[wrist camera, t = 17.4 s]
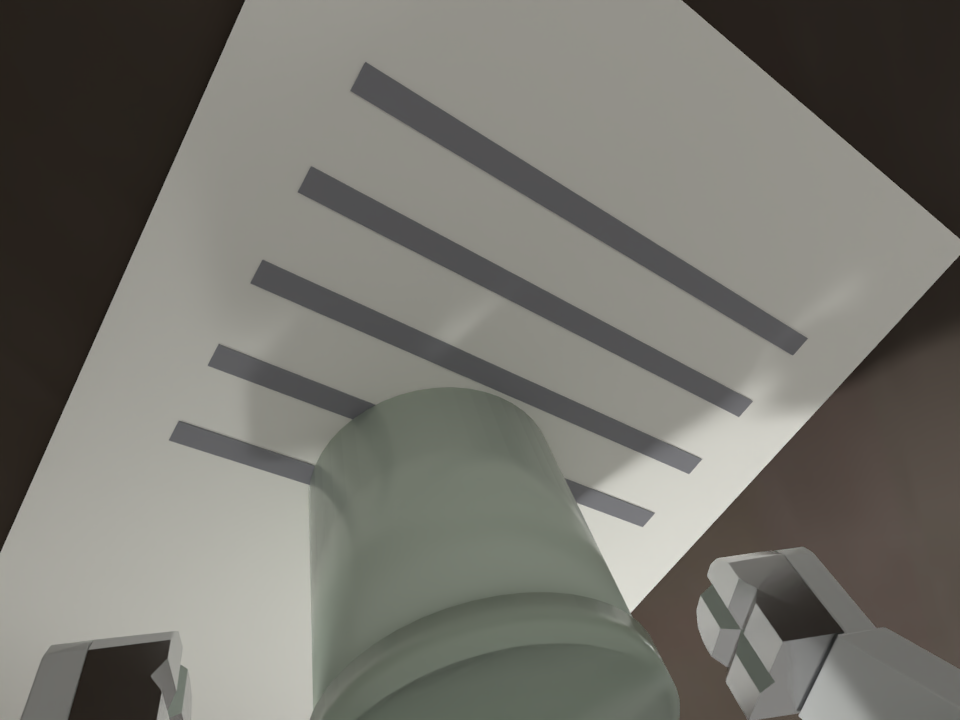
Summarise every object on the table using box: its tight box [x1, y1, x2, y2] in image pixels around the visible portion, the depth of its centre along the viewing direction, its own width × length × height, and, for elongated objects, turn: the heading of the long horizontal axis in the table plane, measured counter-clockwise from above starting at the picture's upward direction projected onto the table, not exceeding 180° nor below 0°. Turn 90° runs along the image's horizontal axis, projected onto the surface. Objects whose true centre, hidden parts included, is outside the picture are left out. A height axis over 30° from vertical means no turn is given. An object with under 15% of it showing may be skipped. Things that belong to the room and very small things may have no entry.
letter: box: [0, 0, 960, 720], centre depth 13 cm, size 12×17×1 cm
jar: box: [308, 387, 680, 720], centre depth 11 cm, size 5×5×5 cm
